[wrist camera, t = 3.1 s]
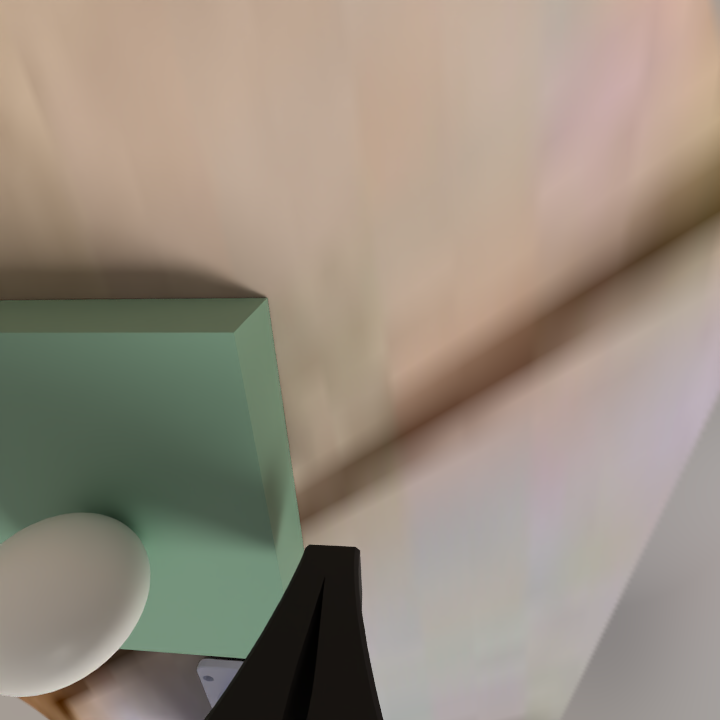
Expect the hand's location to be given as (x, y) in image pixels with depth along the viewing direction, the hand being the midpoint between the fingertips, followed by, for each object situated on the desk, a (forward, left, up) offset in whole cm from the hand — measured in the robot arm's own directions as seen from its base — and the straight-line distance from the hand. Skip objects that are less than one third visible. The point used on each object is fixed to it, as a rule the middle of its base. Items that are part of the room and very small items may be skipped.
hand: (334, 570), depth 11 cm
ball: (0, +7, +1) cm, 7 cm away
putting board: (0, +13, -3) cm, 13 cm away
